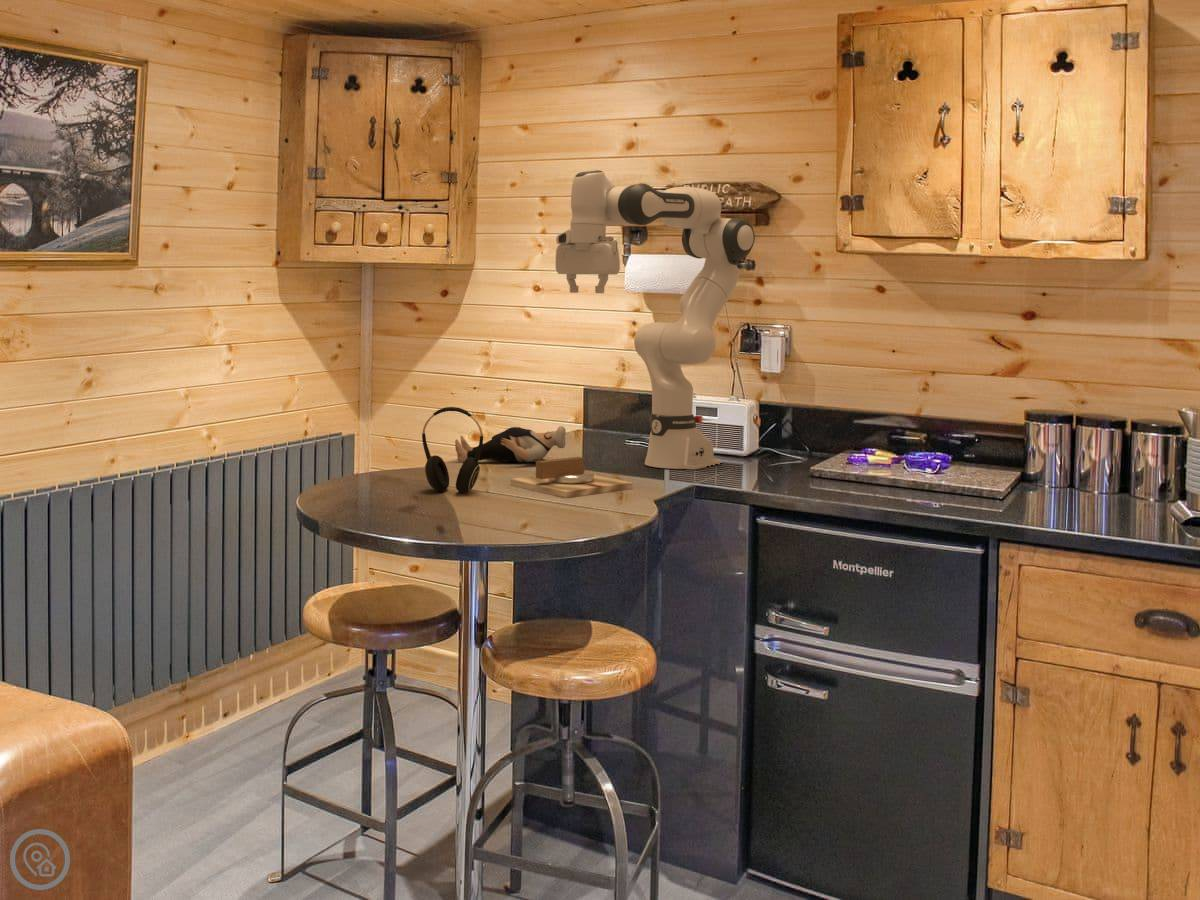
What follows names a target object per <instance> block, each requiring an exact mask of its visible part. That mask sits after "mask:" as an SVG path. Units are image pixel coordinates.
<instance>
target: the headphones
mask: <svg viewBox="0 0 1200 900" xmlns="http://www.w3.org/2000/svg"><path fill="white" fill-rule="evenodd" d="M445 412H458V413H461V414H464V415H466V416H467V417H469V418H471V419H472V420H473V421H474V423H476V426H477V428H478V429H479V432H480V435H479V442H478V445H477V446H478V450H477V452H476V455H475V458H473V457H469V458H467V459H466V460H465V461H464V462H462V465H461V467H460V469H459V471H458V474H457V475H456V476H457V477H456V482H455V489H456V491H458V492H459V493H462V494H464V493H467V492H469V491H471V490H472V489H473V488H474V486H475V484H476V483H477V480H478V477H479V474H480V472H481V471H480V470H481V466H480V464H479V461H480V460H479V457H480V454H481V450H482V446H483V444H484V433H483V430H482V427H481V425H480V423H479V422H478V421H477V419H476V418H475V417H474V416H473V414H471V413H470V412H469V411H467V410H466V409H465V408H464V409H463V408H461V407H456V406H447V407H443V408H440V409H437V410H436V411H435V412H434V413H432V415H430V417H428V419H427V420H426V422H425V423H424V426H423V428H422V431H421V432H422V433H421V438H422V446H423V450H424V454H425V458H426V463H425V465H424V473H425V478H426V480H427V482H428V484H429V486H430V487H431V488H432V489H433V490H435V491H437V492H445V491H447V489H448V488H449V485H450V474H449V470H448V467H447V464H446V463H445V461H444V460H443V458H442V457H441V456H439V455H431V453H430V450H429V447H428V442H427V437H426V436H427V435H426V428H427V426H428V423H429V422H430V421H431V420H432V419H433V418H434V417H435V416H437V415H439V414H442V413H445Z"/></svg>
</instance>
